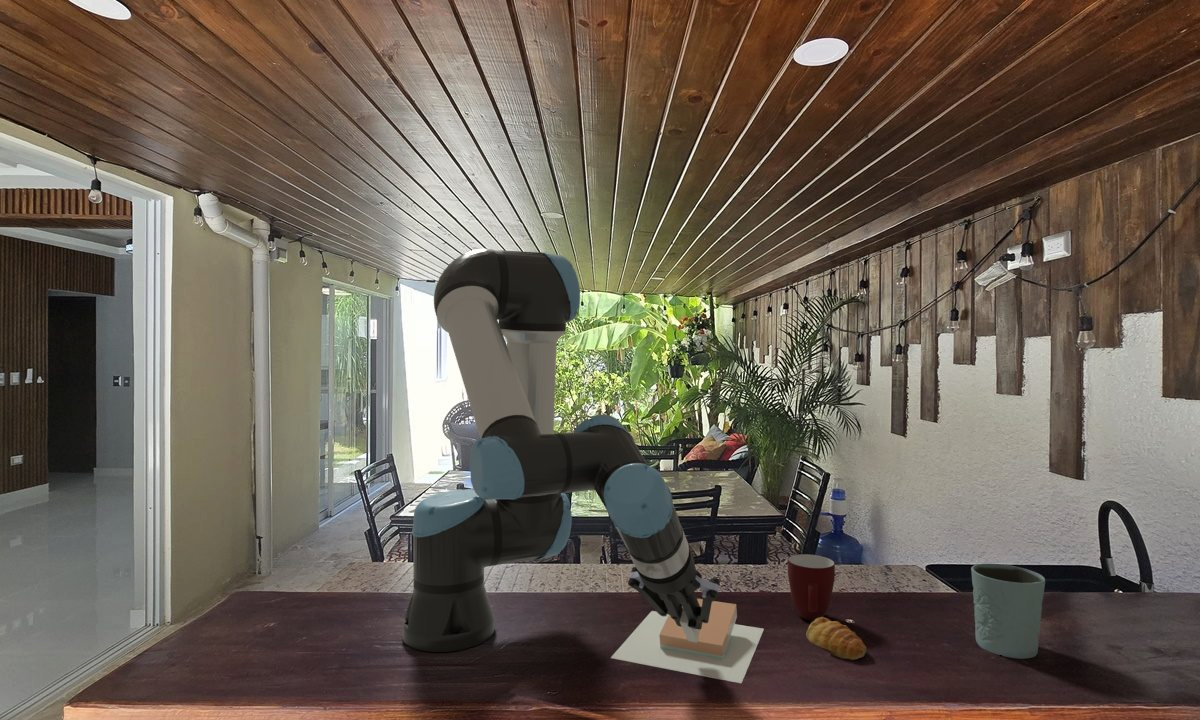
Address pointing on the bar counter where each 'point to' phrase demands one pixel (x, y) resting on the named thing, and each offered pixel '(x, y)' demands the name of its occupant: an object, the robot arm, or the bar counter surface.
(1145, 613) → the bar counter surface
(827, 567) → the mug
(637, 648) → the mat
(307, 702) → the bar counter surface
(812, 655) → the bar counter surface
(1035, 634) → the green ceramic cup
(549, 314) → the robot arm
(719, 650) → the tile
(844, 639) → the pastry
